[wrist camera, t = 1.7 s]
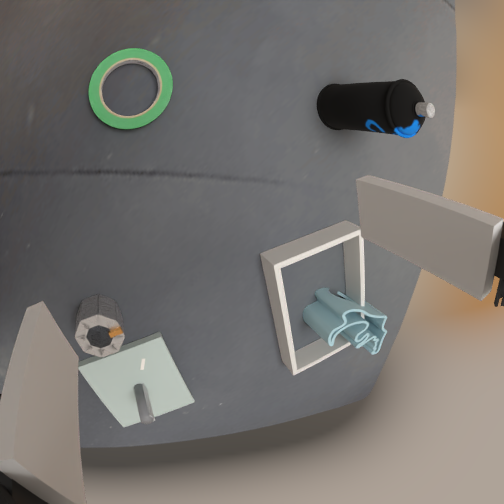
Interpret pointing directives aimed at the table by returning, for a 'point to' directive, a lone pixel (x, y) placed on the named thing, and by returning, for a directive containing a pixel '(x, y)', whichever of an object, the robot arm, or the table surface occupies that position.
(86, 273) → the table surface
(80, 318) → the grey piece
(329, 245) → the dispenser corral
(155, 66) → the tape roll
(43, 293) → the table surface
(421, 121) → the aerosol can
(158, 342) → the peg stand
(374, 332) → the light blue curvy piece
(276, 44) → the table surface
